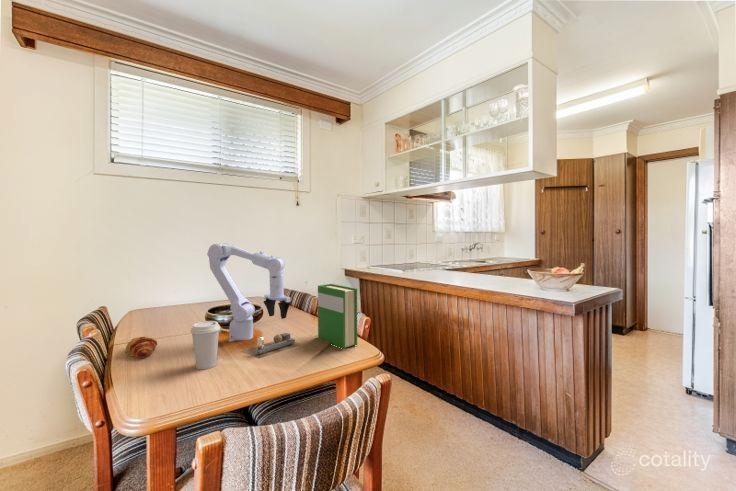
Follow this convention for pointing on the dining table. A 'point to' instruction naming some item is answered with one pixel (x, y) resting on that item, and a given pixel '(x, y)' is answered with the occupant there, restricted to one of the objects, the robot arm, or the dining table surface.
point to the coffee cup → (205, 343)
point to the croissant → (141, 347)
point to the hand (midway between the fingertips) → (277, 317)
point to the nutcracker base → (254, 350)
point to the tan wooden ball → (278, 338)
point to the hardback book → (337, 315)
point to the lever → (263, 349)
